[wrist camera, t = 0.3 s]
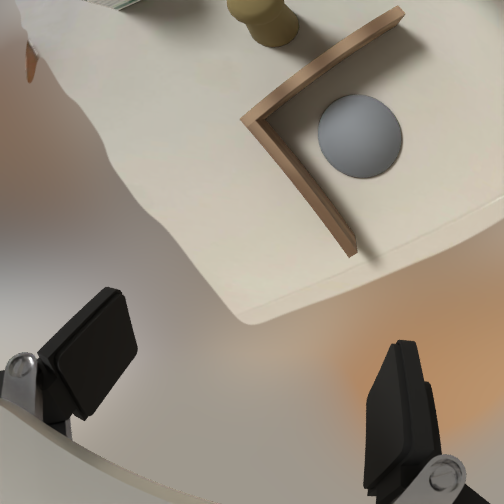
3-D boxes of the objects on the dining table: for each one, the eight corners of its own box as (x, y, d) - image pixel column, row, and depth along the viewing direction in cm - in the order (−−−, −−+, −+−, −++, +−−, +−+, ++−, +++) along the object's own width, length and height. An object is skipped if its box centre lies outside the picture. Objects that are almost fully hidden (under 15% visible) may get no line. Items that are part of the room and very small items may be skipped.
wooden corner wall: (389, 17, 25) (397, 5, 20) (480, 151, 28) (498, 158, 24) (251, 117, 35) (239, 119, 30) (347, 240, 38) (349, 257, 34)
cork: (306, 13, 27) (295, -22, 17) (288, 53, 30) (270, 31, 20) (259, -1, 27) (232, -36, 18) (241, 39, 30) (207, 15, 21)
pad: (366, 79, 29) (366, 78, 29) (415, 148, 31) (416, 148, 31) (300, 126, 34) (300, 126, 33) (351, 192, 36) (351, 193, 35)
